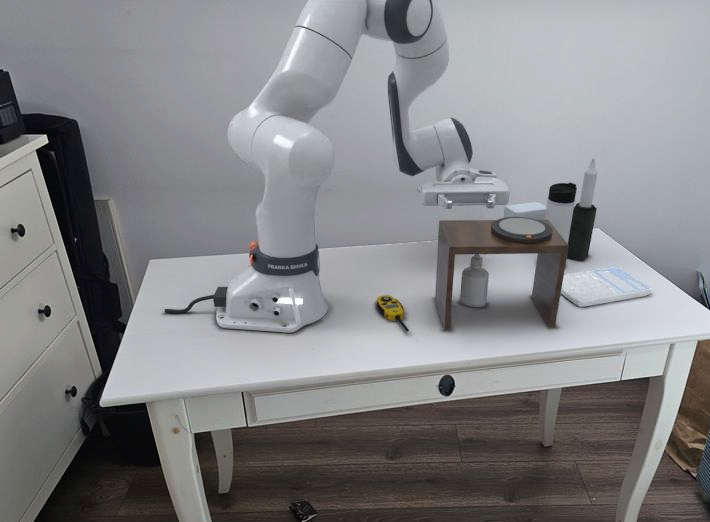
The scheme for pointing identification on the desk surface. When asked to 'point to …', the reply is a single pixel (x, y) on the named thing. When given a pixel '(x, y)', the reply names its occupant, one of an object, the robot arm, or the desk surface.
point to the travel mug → (561, 207)
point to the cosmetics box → (526, 210)
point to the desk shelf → (480, 240)
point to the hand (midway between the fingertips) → (470, 205)
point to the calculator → (602, 286)
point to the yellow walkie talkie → (390, 309)
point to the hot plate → (521, 230)
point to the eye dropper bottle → (474, 283)
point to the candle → (583, 218)
